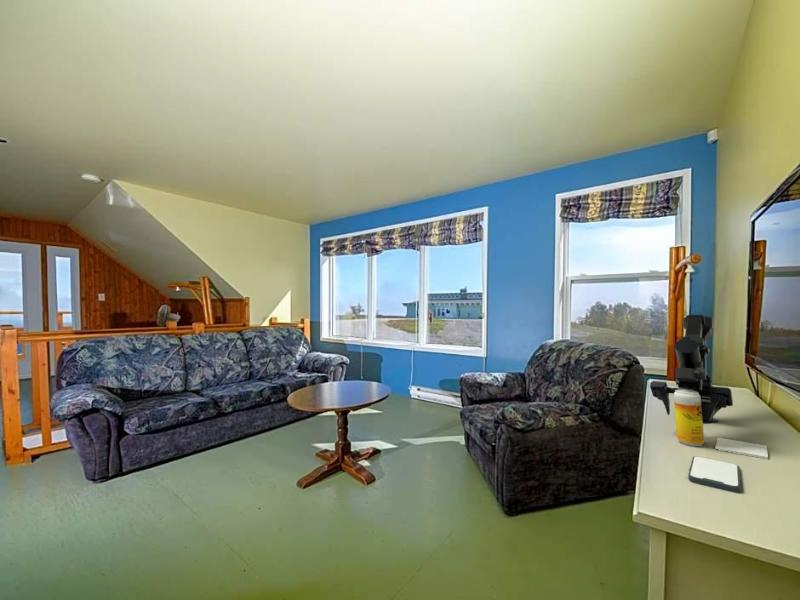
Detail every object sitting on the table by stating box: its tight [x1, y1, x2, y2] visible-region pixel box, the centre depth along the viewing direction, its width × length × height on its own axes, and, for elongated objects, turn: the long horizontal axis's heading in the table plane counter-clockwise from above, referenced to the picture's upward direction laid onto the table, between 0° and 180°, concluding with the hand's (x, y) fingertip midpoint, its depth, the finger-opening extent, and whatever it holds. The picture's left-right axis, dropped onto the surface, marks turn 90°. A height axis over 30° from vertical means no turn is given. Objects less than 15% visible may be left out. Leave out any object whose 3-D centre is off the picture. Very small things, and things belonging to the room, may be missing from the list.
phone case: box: [687, 456, 742, 494], centre depth 82 cm, size 9×2×16 cm
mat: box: [714, 437, 769, 460], centre depth 95 cm, size 10×10×1 cm
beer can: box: [673, 390, 705, 447], centre depth 101 cm, size 6×6×15 cm
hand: (687, 417), depth 100 cm, fingers open, 9 cm apart
